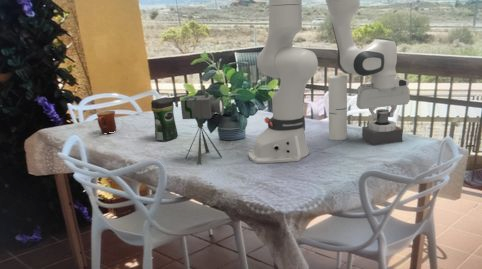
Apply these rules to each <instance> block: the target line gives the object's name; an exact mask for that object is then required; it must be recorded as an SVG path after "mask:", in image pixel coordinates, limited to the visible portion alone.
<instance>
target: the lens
mask: <svg viewBox="0 0 482 269" xmlns="http://www.w3.org/2000/svg"><path fill="white" fill-rule="evenodd" d="M375 110H376V111H375V114H377V119H375V120H376V125H388V120H389V117H388V113H389V112H390V111H389V109H384V108H380V109H375Z"/></svg>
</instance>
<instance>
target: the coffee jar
mask: <svg viewBox="0 0 482 269" xmlns="http://www.w3.org/2000/svg"><path fill="white" fill-rule="evenodd" d="M150 107H151V112H152V113H153V118H154V134H155V140H157V141H158V142H167V141H171V140H173V139H176V138H177V137H178V136H179V135H178V130H177V124H176V121H175V116H174V115H175V114H174V109H175V108H174V107H175V105H174V101H173V98H172V97H160V98H156V99H152V100H151V102H150Z"/></svg>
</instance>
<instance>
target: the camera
mask: <svg viewBox="0 0 482 269" xmlns="http://www.w3.org/2000/svg"><path fill="white" fill-rule="evenodd" d="M224 106H225V105H224V99H223V97H222V96H220V97H218V98H217V99H215V97H214V94H210V91H208V92H204V93H203V95H185V97H184V98H181V100H180V108H181V115H182V116H181V118H182V120H197V127H198V129H197V131H196V133H195V136H194V138H193V140H192V143H191V145H190V147H189V149H188V152H187V154H186V157H185V158H186V159H187V158H188V156H189V154H190V152H191V148H192V146H193V144H194V142H195V140H196V137H197V135H198V134H199V135H198V149H197V150H198V151H197V164H201V165H202V141H203V145H204V149H205V153H210V149H209V146H208V144H207V140H206V137H207V138H208V141H209V142H210V144H211V145H212V146H213V149H215V151H216V153H217V154H218V156H219V158H220V159H223V155H222V154H221V152H219V150H218V148H217V147H216V145H215V144H214V142H213V141H212V139H211V137H209V135H208V134H207V132H206V130H205V129H204V128H203V127H204V124H203V120H204V119H207V120H208V119H211V118H212V117H213V116H214V115H215V114H217V115H220V116H223V115H224V110H225V109H224V108H225V107H224ZM198 132H199V133H198ZM205 135H206V137H205ZM197 164H196V165H197Z"/></svg>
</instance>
